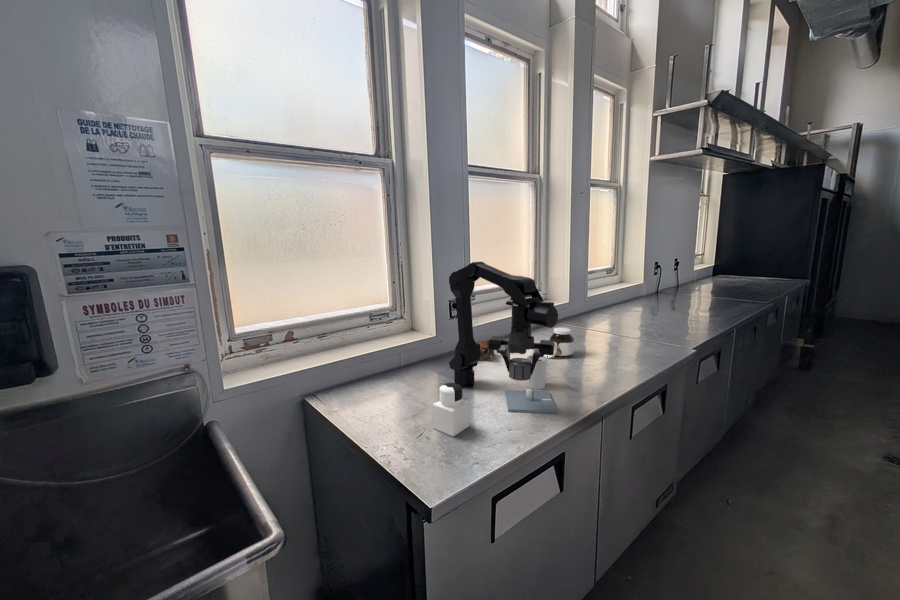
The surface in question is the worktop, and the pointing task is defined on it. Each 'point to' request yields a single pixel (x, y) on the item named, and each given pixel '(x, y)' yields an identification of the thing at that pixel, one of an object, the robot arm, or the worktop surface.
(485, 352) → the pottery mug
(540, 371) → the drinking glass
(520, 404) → the base plate
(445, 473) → the worktop surface
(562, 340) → the spread jar
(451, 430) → the medicine bottle
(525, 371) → the knob
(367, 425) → the worktop surface
